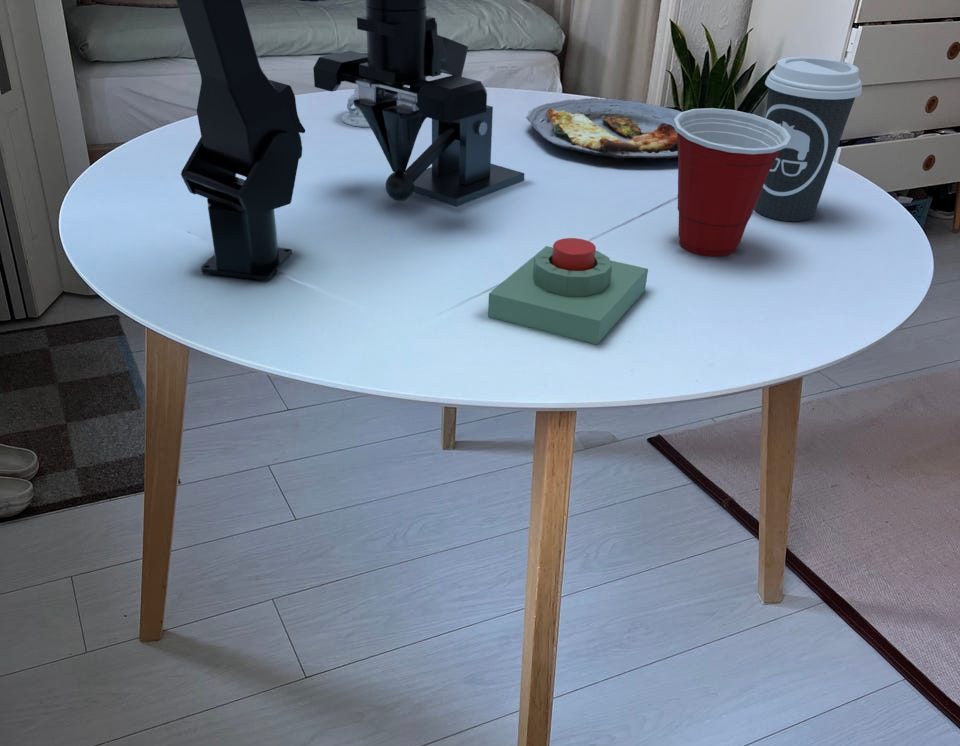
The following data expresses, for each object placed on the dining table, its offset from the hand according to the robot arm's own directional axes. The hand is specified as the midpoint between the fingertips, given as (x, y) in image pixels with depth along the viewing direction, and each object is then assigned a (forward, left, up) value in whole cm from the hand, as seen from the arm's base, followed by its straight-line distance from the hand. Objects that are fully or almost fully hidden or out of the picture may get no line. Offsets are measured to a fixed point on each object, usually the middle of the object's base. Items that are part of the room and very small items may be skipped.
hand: (399, 172), depth 95 cm
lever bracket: (+9, -5, -4) cm, 11 cm away
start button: (-18, -21, 0) cm, 27 cm away
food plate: (+32, -21, -4) cm, 38 cm away
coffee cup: (+12, -41, -4) cm, 43 cm away
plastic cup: (-1, -33, -4) cm, 33 cm away
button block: (-18, -21, -4) cm, 28 cm away
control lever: (+5, -3, -1) cm, 6 cm away
